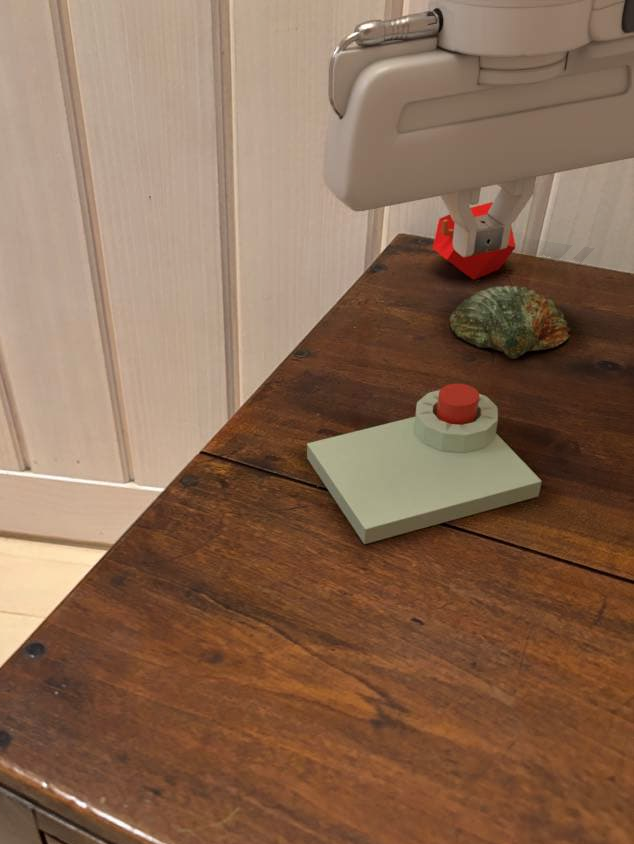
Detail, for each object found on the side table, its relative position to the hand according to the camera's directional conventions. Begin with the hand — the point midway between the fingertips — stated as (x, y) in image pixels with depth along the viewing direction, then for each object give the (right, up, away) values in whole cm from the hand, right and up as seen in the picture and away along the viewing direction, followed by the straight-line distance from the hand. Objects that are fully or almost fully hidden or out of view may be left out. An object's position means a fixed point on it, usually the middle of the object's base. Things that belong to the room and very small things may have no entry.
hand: (479, 249), depth 58 cm
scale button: (+1, -9, +8) cm, 12 cm away
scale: (-2, -14, +8) cm, 16 cm away
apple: (+7, +8, +30) cm, 32 cm away
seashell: (+8, 0, +22) cm, 23 cm away
